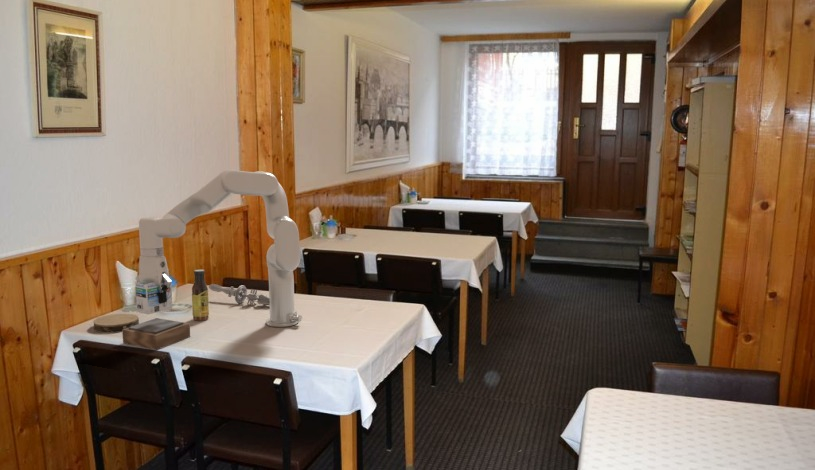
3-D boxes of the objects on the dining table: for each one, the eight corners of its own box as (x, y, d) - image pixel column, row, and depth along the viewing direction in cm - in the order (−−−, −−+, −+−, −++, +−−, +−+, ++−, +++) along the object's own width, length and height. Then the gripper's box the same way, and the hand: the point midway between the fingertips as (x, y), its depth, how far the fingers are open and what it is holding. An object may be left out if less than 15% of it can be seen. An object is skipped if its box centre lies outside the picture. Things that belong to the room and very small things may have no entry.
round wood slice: (140, 319, 267) (139, 312, 266) (137, 330, 252) (137, 323, 251) (96, 322, 262) (96, 315, 261) (91, 334, 247) (90, 327, 246)
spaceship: (216, 279, 301) (205, 275, 294) (281, 295, 287) (271, 292, 280) (211, 296, 300) (200, 293, 293) (276, 313, 286) (266, 310, 279)
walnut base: (190, 336, 244) (189, 321, 243) (156, 349, 230) (155, 334, 229) (157, 330, 251) (156, 316, 250) (123, 343, 236) (122, 328, 235)
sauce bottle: (204, 322, 262) (202, 272, 259) (189, 321, 263) (187, 271, 260) (212, 317, 268) (210, 269, 265) (198, 316, 270) (195, 268, 266)
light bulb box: (148, 315, 232) (146, 284, 230) (136, 312, 236) (134, 282, 234) (173, 308, 241) (172, 278, 239) (161, 305, 245) (159, 276, 243)
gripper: (178, 252, 235) (180, 301, 237) (142, 248, 242) (144, 296, 245) (162, 256, 228) (165, 306, 231) (125, 252, 235) (128, 301, 238)
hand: (154, 301), depth 238 cm, fingers closed on light bulb box, 7 cm apart
